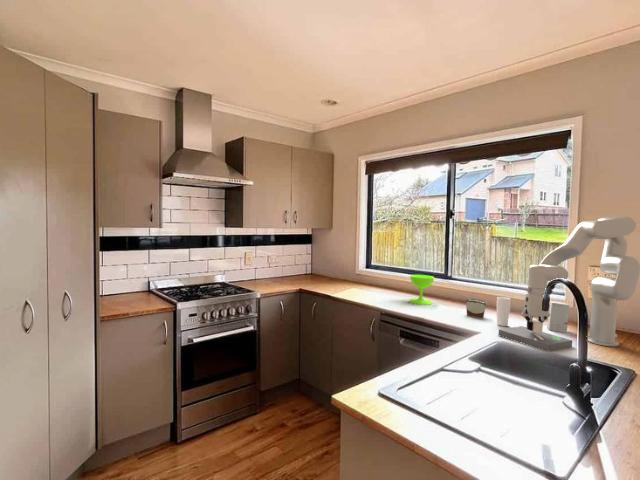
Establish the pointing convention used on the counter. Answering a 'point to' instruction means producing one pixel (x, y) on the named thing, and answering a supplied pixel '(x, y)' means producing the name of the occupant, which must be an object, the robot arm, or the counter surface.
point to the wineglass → (421, 287)
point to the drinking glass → (503, 310)
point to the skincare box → (558, 316)
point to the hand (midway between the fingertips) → (534, 329)
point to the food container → (475, 307)
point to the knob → (537, 328)
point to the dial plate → (536, 338)
